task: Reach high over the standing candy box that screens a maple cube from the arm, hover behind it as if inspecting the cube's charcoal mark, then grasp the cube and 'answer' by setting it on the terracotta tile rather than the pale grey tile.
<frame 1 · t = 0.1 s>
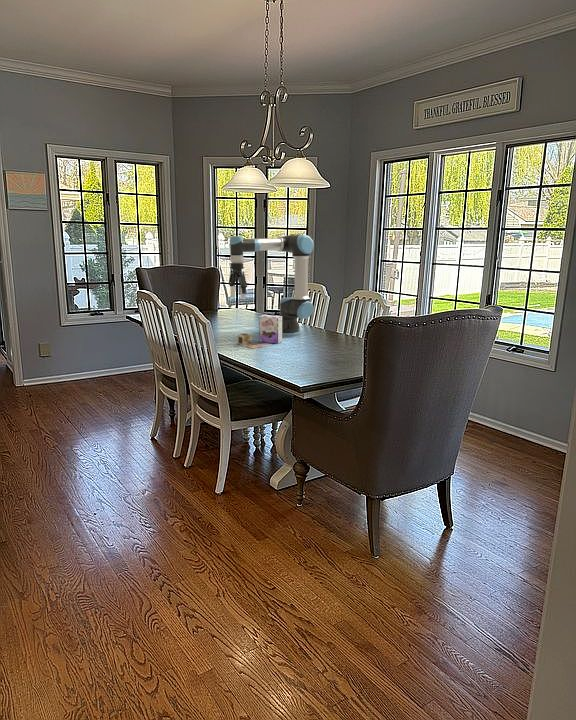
hand: (237, 298, 321), 28 cm above the table, fingers open, 13 cm apart
terracotta tile: (253, 347, 317), on the table
candy box: (270, 342, 331), on the table
cube: (244, 344, 325), on the table
grey tile: (264, 345, 321), on the table
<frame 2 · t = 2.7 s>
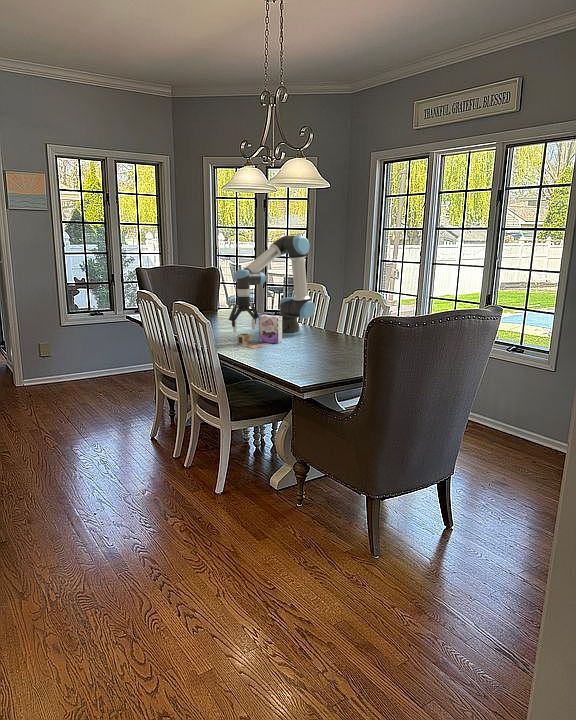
hand: (244, 330, 323), 8 cm above the table, fingers open, 13 cm apart
nothing on the table moved.
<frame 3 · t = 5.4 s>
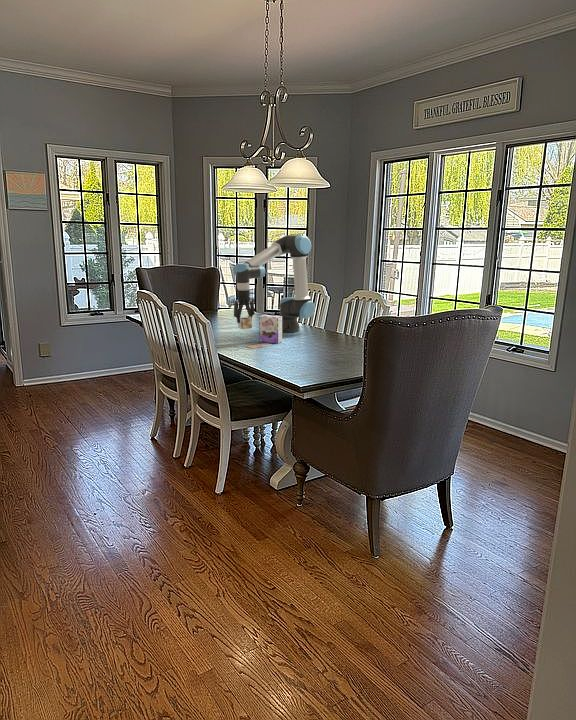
hand: (244, 327, 323), 10 cm above the table, fingers closed on cube, 6 cm apart
cube: (245, 328, 323), point 10 cm above the table, touching gripper
everything else where it was.
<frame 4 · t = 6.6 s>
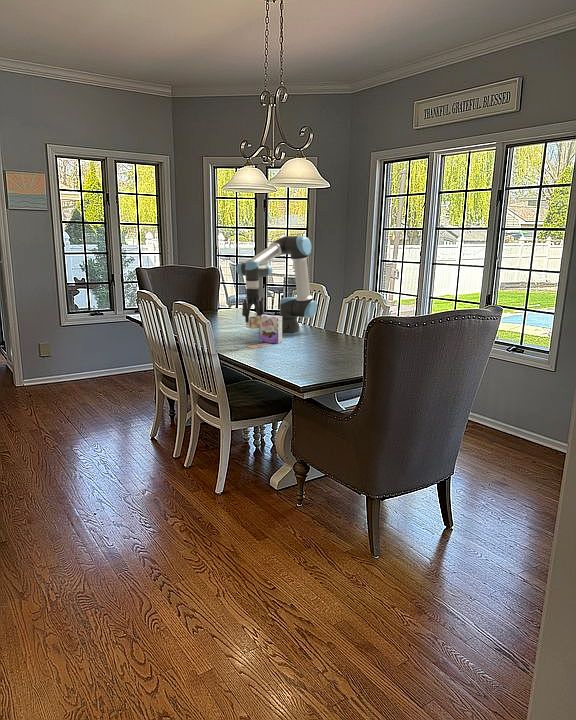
hand: (253, 327, 314), 12 cm above the table, fingers closed on cube, 6 cm apart
cube: (253, 327, 314), point 12 cm above the table, touching gripper
everything else where it was.
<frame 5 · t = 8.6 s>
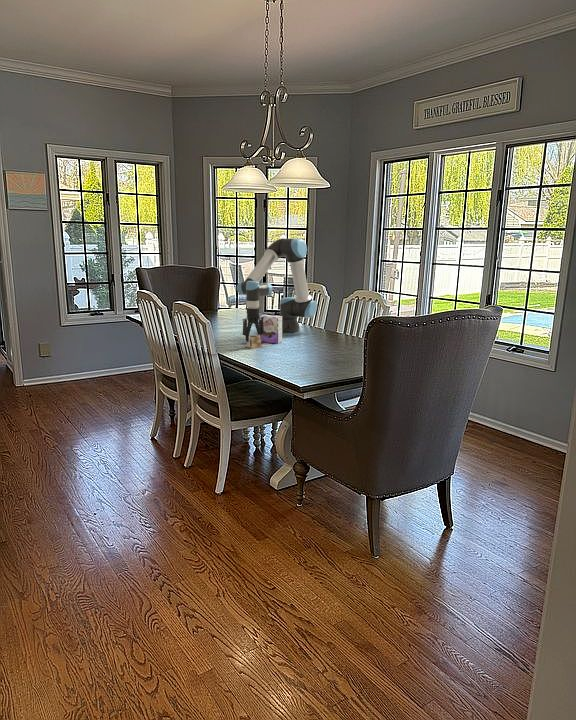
hand: (253, 345, 316), 1 cm above the table, fingers closed on cube, 6 cm apart
cube: (253, 346, 316), resting on terracotta tile, touching gripper
everything else where it was.
when the fingers open (1 cm above the table, at t = 8.6 s): cube stays where it is, resting on terracotta tile.
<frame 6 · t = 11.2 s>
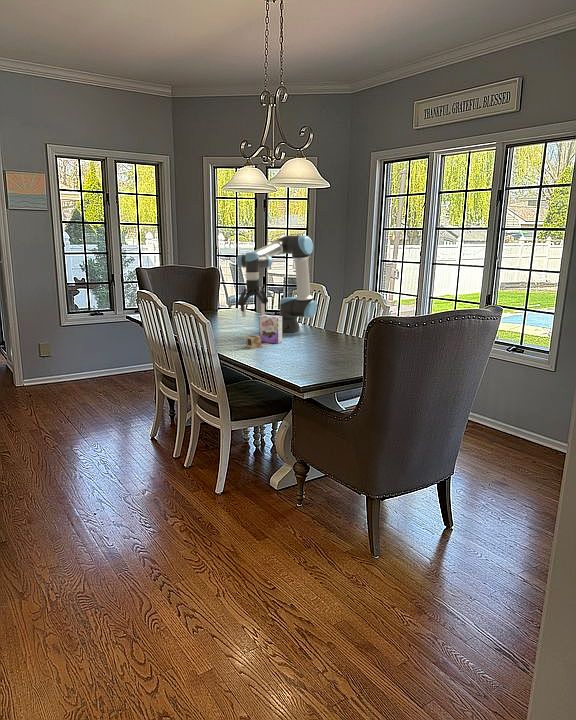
hand: (253, 315, 313), 19 cm above the table, fingers open, 13 cm apart
cube: (253, 346, 316), resting on terracotta tile
everything else where it was.
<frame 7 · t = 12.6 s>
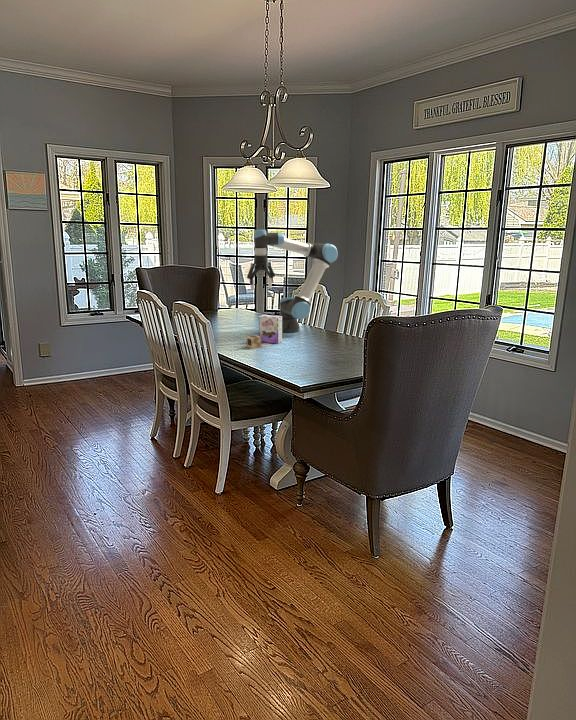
hand: (261, 289, 337), 31 cm above the table, fingers open, 13 cm apart
nothing on the table moved.
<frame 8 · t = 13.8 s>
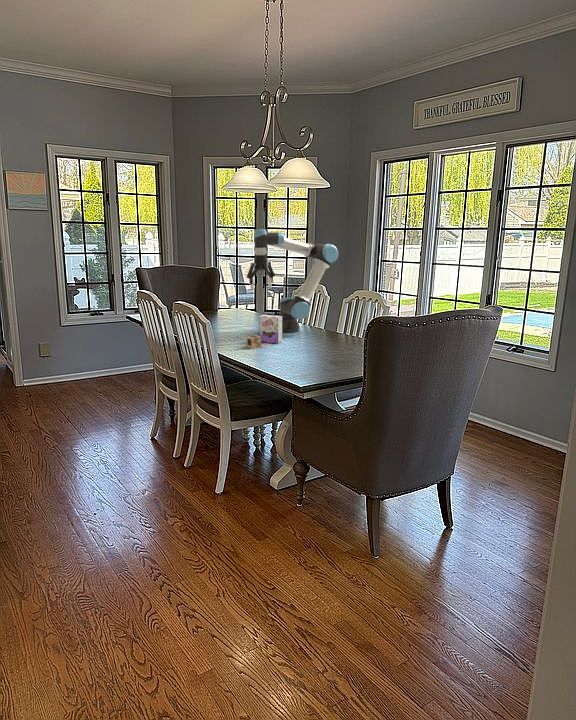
hand: (261, 288, 337), 32 cm above the table, fingers open, 13 cm apart
nothing on the table moved.
at the end: cube inside the target area on the terracotta tile (0.0 cm from its centre), point 0.4 cm above the terracotta tile's base; cube tilted 0°; the gripper is holding nothing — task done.
